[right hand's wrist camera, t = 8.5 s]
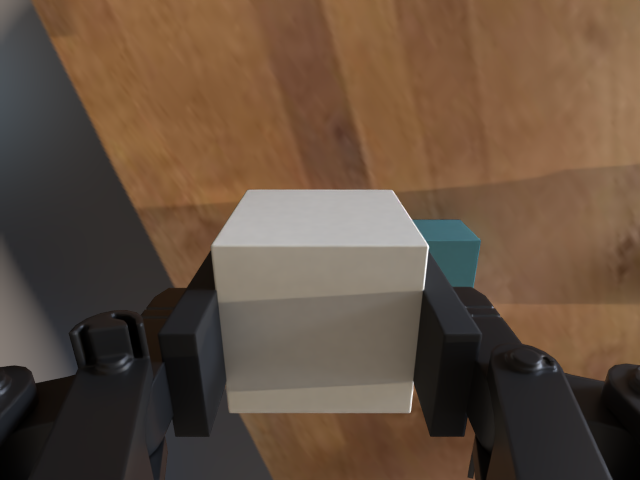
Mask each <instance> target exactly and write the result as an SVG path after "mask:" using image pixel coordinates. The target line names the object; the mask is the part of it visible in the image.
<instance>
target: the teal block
mask: <svg viewBox="0 0 640 480" xmlns="http://www.w3.org/2000/svg"><path fill="white" fill-rule="evenodd" d="M412 221H413V222H414V224H415V226H416V227H417V229H418V230H419V232H420V233H421V235H422V236H423V238H424V239H425V241H426V242H427V244H428V246H429V249H428V250H429V251H430V253H431V255H432V256H433V258H434V259H435V261H436V262H437V264H438V265H439V267H440V269H441V270H442V272H443V273H444V275H445V276H446V278H447V280H448V281H449V283H450V284H451V286H452V287H472V288H473V287H474V281H475V274H476V268H477V262H478V255H479V249H480V243H481V240H480V239H479V238H478V237H477V236H476V235H475V234H474V233H473V232H472V231H471V230H470V229H469V228H468V227H467V226H466V225H465V224H464V223H463V222H462V221H461V220H412Z"/></svg>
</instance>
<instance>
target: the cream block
mask: <svg viewBox="0 0 640 480" xmlns="http://www.w3.org/2000/svg"><path fill="white" fill-rule="evenodd" d="M428 249H429V246H428V244H427V242H426V241H425V239H424V238H423V236H422V235H421V233H420V232H419V230H418V229H417V227H416V226H415V224H414V222H413V221H412V219H411V218H410V216H409V215H408V213H407V212H406V210H405V209H404V207H403V206H402V204H401V203H400V201H399V199H398V198H397V196H396V195H395V193H394V192H393V190H247V191H246V193H245V194H244V196H243V197H242V199H241V200H240V202H239V203H238V205H237V207H236V208H235V210H234V211H233V213H232V214H231V216H230V217H229V219H228V220H227V222H226V223H225V225H224V226H223V228H222V229H221V231H220V232H219V234H218V235H217V237H216V238H215V240H214V241H213V243H212V244H211V254H212V263H213V272H214V282H215V290H217V297H218V306H219V315H220V325H221V334H222V343H223V352H224V362H225V371H226V380H227V381H226V392H227V401H228V410H229V412H230V413H410V412H411V404H412V395H413V386H414V382H413V377H414V368H415V359H416V350H417V340H418V331H419V322H420V313H421V303H422V294H423V290H424V286H425V276H426V267H427V258H428Z"/></svg>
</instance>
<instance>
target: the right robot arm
mask: <svg viewBox="0 0 640 480" xmlns="http://www.w3.org/2000/svg"><path fill="white" fill-rule="evenodd" d="M69 336H70V340H71V343H72V347H73V351H74V354H75V358H76V361H77V365H78V370H77V372H76V375H72V376H68V377H64V378H60V379H54V380H49V381H45V382H40V383H35V381H34V378H33V375H32V372H31V371H30V370H28V369H27V368H26V367H21V366H6V367H0V480H165V472H166V463H167V454H168V451H167V444H166V439H165V433H166V431H167V429H168V427H169V424H170V422H171V420H173V425H174V431H175V436H176V437H209V436H210V433H211V430H212V426H213V423H214V420H215V417H216V413H217V410H218V407H219V404H220V400H221V397H222V394H223V391H224V388H225V384H226V381H227V380H226V371H225V362H224V352H223V343H222V334H221V325H220V315H219V306H218V297H217V290H215V282H214V272H213V263H212V254H211V251H210V253H209V254H208V256H207V257H206V259H205V260H204V262H203V263H202V265H201V267H200V268H199V270H198V271H197V273H196V274H195V276H194V278H193V279H192V281H191V282H190V284H189V285H188V287H187V288H168V289H167V290H165V291H163V292H162V293H160V294H159V295H157V296H156V297H154V299H153V300H152V301H151V303H150V304H149V305H148V307H147V309H146V310H144V312H143V313H142V314H141V316H140V315H139V314H138V313H136V312H132V311H128V310H116V311H109V312H105V313H100V314H97V315H95V316H92V317H89V318H87V319H85V320H84V321H82V322H80V323H79V324H77V325H76V326H75V327H74V328H73V329H72V330H71V331H70V332H69ZM413 382H414V385H415V388H416V392H417V395H418V398H419V401H420V405H421V408H422V411H423V414H424V417H425V421H426V424H427V427H428V430H429V434H430V437H464V435H465V429H466V424H467V418H469V421H470V423H471V425H472V427H473V430H474V432H475V439H474V444H473V449H472V455H471V460H470V465H469V471H468V478H473V476H474V471H475V480H640V365H633V364H620V365H614V366H613V367H612V368H611V369H609V371H608V374H607V377H606V380H605V382H604V381H599V380H594V379H589V378H584V377H580V376H575V375H571V374H567V373H564V372H563V369H562V368H561V366H560V365H559V364H558V362H557V361H556V360H555V359H554V358H553V357H551V356H550V355H549V354H547V353H546V352H544V351H542V350H539V349H537V348H535V347H533V346H529V345H525V344H522V343H521V342H520V340H519V339H518V338H517V337H516V335H515V334H514V333H513V331H512V330H511V329H510V327H509V326H508V325H507V323H506V322H505V321H504V320H503V318H502V317H500V314H499V313H498V312H497V310H496V309H495V308H493V305H492V304H491V303H490V301H489V300H488V299H487V297H486V296H485V295H483V294H482V293H480V292H479V291H477V290H475V289H474V288H472V287H452V286H451V284H450V283H449V281H448V280H447V278H446V276H445V275H444V273H443V272H442V270H441V269H440V267H439V265H438V264H437V262H436V261H435V259H434V258H433V256H432V255H431V253H430V251H429V250H428V258H427V267H426V276H425V286H424V290H423V294H422V303H421V313H420V322H419V331H418V340H417V350H416V359H415V368H414V377H413Z"/></svg>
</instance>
